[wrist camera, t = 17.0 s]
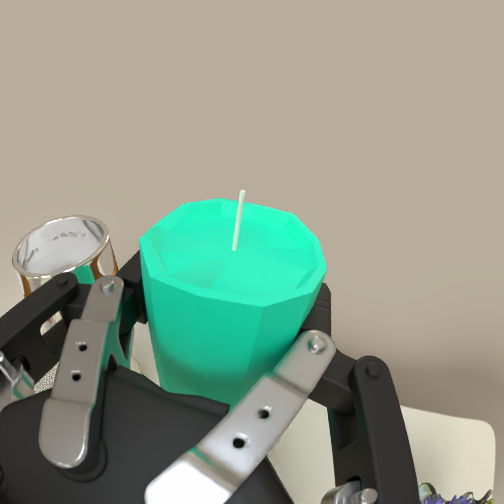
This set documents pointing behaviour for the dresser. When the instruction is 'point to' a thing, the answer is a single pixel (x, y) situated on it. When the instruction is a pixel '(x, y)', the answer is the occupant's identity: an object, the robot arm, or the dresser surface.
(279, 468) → the dresser surface
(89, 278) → the silver metal tumbler
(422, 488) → the passion flower
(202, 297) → the candle
